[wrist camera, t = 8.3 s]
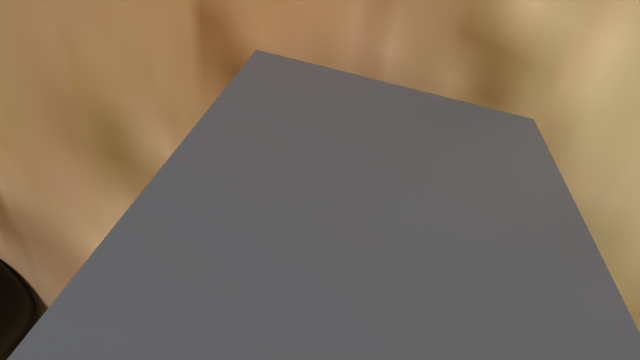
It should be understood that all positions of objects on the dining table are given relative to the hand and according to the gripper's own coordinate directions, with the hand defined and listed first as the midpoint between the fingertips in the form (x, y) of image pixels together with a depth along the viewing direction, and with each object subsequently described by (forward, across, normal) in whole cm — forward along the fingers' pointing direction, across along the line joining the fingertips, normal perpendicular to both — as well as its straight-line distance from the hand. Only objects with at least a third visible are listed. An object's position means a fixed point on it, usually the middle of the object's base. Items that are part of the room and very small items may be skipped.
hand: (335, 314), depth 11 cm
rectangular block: (+3, 0, 0) cm, 3 cm away
